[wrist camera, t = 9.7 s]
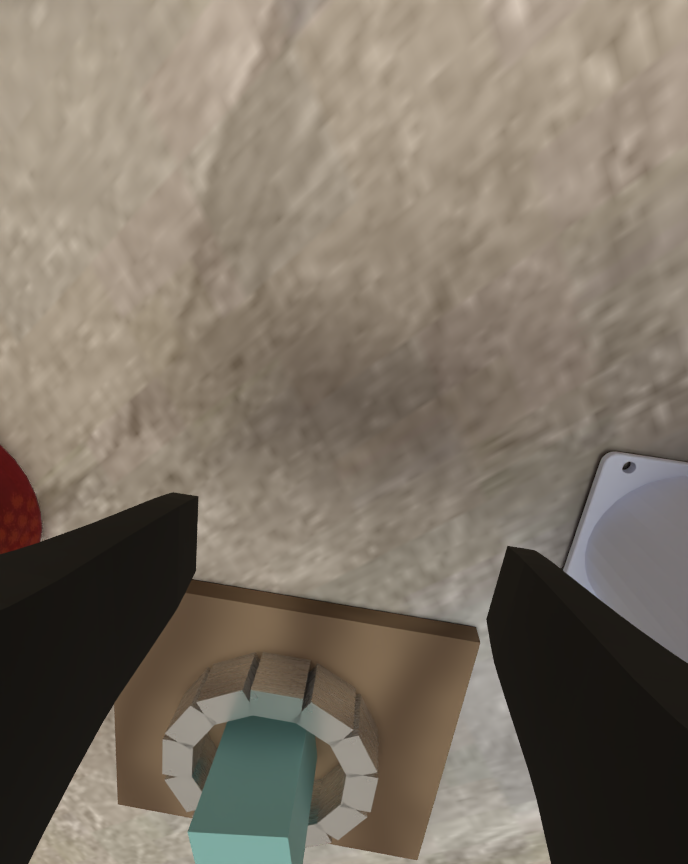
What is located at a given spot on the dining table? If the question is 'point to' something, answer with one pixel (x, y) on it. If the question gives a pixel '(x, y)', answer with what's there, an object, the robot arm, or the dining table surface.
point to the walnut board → (321, 643)
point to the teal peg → (256, 795)
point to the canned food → (17, 507)
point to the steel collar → (288, 701)
